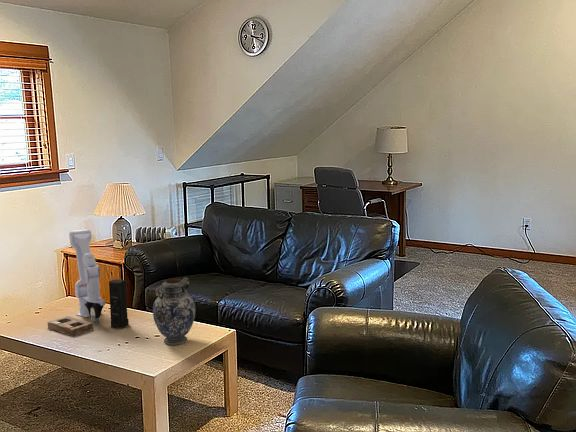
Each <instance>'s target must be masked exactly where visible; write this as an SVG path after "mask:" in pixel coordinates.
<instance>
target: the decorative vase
mask: <svg viewBox="0 0 576 432" xmlns="http://www.w3.org/2000/svg"><path fill="white" fill-rule="evenodd" d="M189 286H190V280H189V278H188V277H187V276H186V277H183V278H182V279H181V278H168V279H165V280H164V282H162V284H161V285H159V286H158V287H156V289H155V296H156V297H157V298H156V299H155V301H153V304H152V316H153V320H154V324H155V326H156V328H157V330H158V331H159V333H160V334H161V335H162V336H164V337H165V338H164V339H163V344H164V343H165V344H164V345H166V344H167V345H166V346H180V345H179V344H181V345H183V344H182V343H184V344H186V343H187V342H188V340H187V339H188V337H187V336H186V335H187V334H188V333H189V332H190V330H191V329H192V327H193V325H194V321H195V317H196V304H195V301H194V299H193V297H192V296H191V295H190V294H189V292H188V291H187V289H188V288H189ZM186 341H187V342H186ZM185 342H186V343H185Z"/></svg>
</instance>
